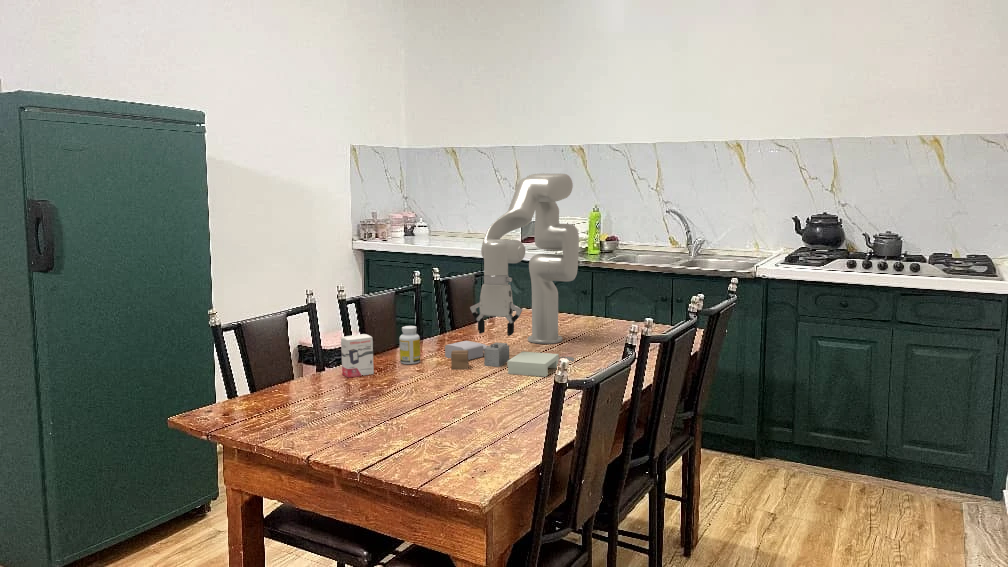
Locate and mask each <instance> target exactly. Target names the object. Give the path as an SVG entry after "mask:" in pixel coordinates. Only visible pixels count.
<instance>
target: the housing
mask: <svg viewBox="0 0 1008 567" xmlns="http://www.w3.org/2000/svg"><path fill="white" fill-rule="evenodd" d="M483 357H484V358H483V359H484V365H483V366H485V367H496V368H500V367H501V366H504V365H505V364H507V361H508V360H510V345H508V343H507V342H497V341H496V342H494V343H491V344H490V345H488V347H486V349H485V350H484V351H483Z"/></svg>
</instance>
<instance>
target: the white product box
mask: <svg viewBox="0 0 1008 567" xmlns="http://www.w3.org/2000/svg"><path fill="white" fill-rule="evenodd" d="M340 345H341V347H340V349H341V350H340V352H341V368H342V369H341V371H342V373H341V374H342V376H344V377H346V378H348V379H349V378H355V377H360V376H361V377H362V375H363V376H367V375H368V376H369V374H370V375H374V374H375V372H374V349H373V348H374V341H373V336H371V335H369V334H367V333H362V334H354V335H346V336H342V337H340Z"/></svg>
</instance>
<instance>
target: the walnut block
mask: <svg viewBox="0 0 1008 567" xmlns="http://www.w3.org/2000/svg"><path fill="white" fill-rule="evenodd" d="M450 361H451V363H450V364H451V368H450V369H451V370H452V371H454V370H455V371H456V370H468V369H469V360H468V350H456V351H452V353H451V359H450Z"/></svg>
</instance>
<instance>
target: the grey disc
mask: <svg viewBox="0 0 1008 567" xmlns="http://www.w3.org/2000/svg"><path fill="white" fill-rule="evenodd" d="M563 357H565V358H567V359H568V360H569V361H570V360H571V361H573V362H575V358H574V357H573V356H560V357H559V359H560V358H563ZM559 359H558V360H559Z"/></svg>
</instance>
